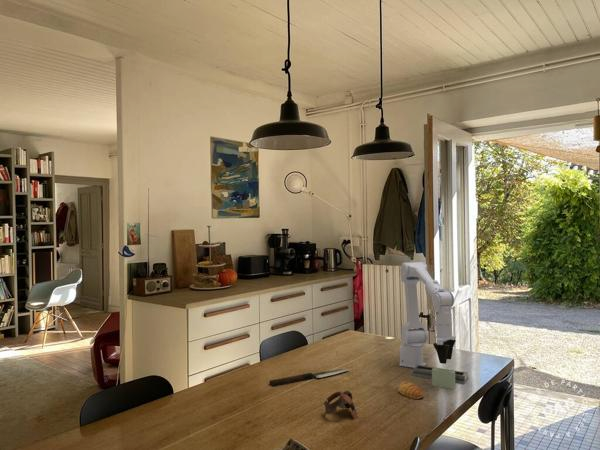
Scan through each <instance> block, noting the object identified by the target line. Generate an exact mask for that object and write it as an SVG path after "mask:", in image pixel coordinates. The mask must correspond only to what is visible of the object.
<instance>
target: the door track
mask: <svg viewBox="0 0 600 450" xmlns="http://www.w3.org/2000/svg"><path fill="white" fill-rule="evenodd" d="M433 368H436V369H443V370H449V371H455V384H460V385H465V383H466V382H467V381H468V379H469V375H468V374H469V373H468V372H465V371H459V370H453V369H446V368H440V367H432V366H427V365H425V366H422V365H416V366H415V367H414V368H412V372H411V376H413V377H420V378H425V379H429V380H432V369H433Z"/></svg>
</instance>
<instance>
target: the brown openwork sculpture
mask: <svg viewBox="0 0 600 450" xmlns="http://www.w3.org/2000/svg"><path fill="white" fill-rule="evenodd" d="M336 398H338V399H336ZM333 400H335V401H334V402H332V401H333ZM323 406H324V411H325V413H326V414H329V413H335V414H338V412H337V408H340V409H347V410H348V409H350V410H351V413H350V415H351V416H352V419H353V420H356V418H357V416H358V413H357V409H356V407H355V403H354V401H353V395H352V392H351V391H349V390H345V391H341V390H340V391H336V392H333V393H332V394H330V395H329V396H327V398H326V400H325V401H324V402H323Z"/></svg>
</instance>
